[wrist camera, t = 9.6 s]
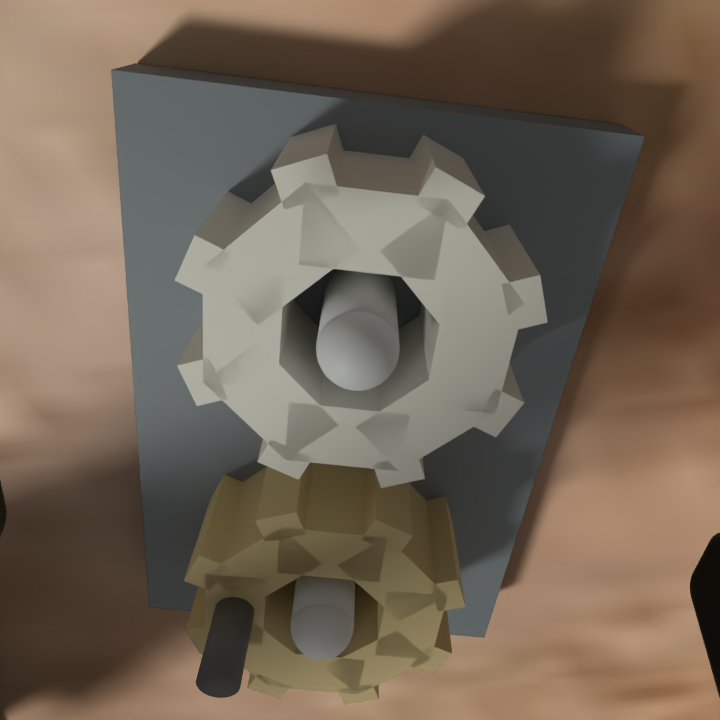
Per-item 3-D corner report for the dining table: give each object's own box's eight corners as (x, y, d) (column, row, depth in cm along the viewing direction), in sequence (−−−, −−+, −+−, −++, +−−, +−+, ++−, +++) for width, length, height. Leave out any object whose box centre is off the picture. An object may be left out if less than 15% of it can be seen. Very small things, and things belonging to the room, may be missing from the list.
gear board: (477, 600, 22) (513, 803, 17) (162, 571, 22) (89, 769, 16) (620, 124, 15) (778, 202, 9) (135, 63, 14) (-23, 105, 8)
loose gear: (545, 149, 13) (587, 185, 11) (477, 422, 17) (496, 499, 14) (210, 107, 13) (170, 134, 11) (210, 394, 17) (179, 467, 14)
